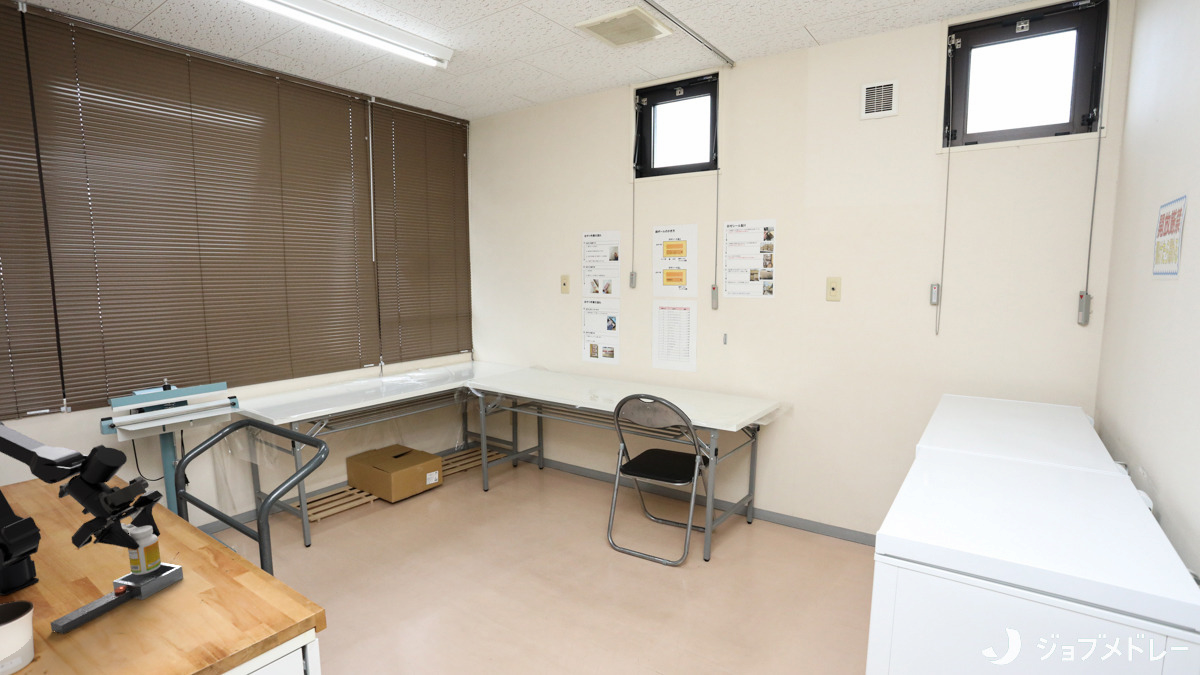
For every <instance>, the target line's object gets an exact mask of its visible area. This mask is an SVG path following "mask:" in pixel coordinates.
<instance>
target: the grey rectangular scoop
mask: <svg viewBox="0 0 1200 675" xmlns="http://www.w3.org/2000/svg"><path fill="white" fill-rule="evenodd" d="M183 579H184V573H183V566H182V565H176V564H172V563H168V562H167V563H166V562H162V561H161V565H160V567H159V568H158V569H156V570H154V571H152V572H149V573H146V574H142V575H134V574H132V572H131V571H130V572H129V573H127V574H125V575H123V576H121V577H119V578H117V579H114V580H112V584H113V585H112V586H113V591H112V592H109V593H107V594H105V595H103V596H101V597H99V598H97V599H95V600H93V601H91V602H89V603H87V604H85V605H83V606H81V607H78V608H77V609H75V610H73V611H71V612H69V613H67V614H64V615H63V616H60V617H59V618H57V619H55V620H53V621H51V622H50V627H51V632H52V631H55V632H59V633H62V634H64V633H66V632H68V631H70V630H72V629H73V630H75V629H77V628H79V627H81V626H83V625H85V624H87V623H89V622H91V621H92V620H94V619H96V618H99V617H100V616H102V615H104V614H106V613H108V612H110V611H111V610H114V609H116V608H117V607H119V606H121V605H124V604H125V603H127V602H129V601H131V600H133V599H135V600H136V599H137V600H140V601H141V600H142V601H143V600H145V599H148V598H149V597H150V596H153V595H155V594H157V593H158V592H160V591H162V590H164V589H166V588H168V587H170V586H171V584H172V585H173V584H175V583H177V582H179V581H181V580H183ZM73 630H72V631H73ZM55 632H54V633H55ZM70 632H71V631H70ZM59 633H58V634H59ZM68 633H69V632H68ZM62 634H61V635H62ZM66 634H67V633H66ZM64 635H65V634H64Z"/></svg>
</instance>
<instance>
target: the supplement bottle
mask: <svg viewBox="0 0 1200 675" xmlns="http://www.w3.org/2000/svg"><path fill="white" fill-rule="evenodd" d="M152 533H153V528H152V526H149V525H148V526H141V527H138V528H135V529H133V530H131V531H130V536H131V537H132V538H133V539H134V540H135V541H136V542H137V543H138V544H139V546H140V547H139V548H138V549H137V550H134V549H129V548H127V550H128V551H127V552H128V559H129V565H130V566H129V568H130V573H131V572H132V574H134V575H142V574H146V573H149V572H152V571H154V570H156V569H158V568H159V567H160V565H161V562H162V560H161V555H160V554H161V552H160V544H159V540H158V539H159V538H158V537H157V536H156V535H155V534H152Z"/></svg>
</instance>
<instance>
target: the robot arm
mask: <svg viewBox="0 0 1200 675" xmlns="http://www.w3.org/2000/svg"><path fill="white" fill-rule="evenodd" d="M0 453H2V454H4V455H6V456H9V457H10V458H12V459H15V460H16V461H19V462H20V463H23V464H25V465H27V466H28V467H29V469H30V470H29V471H30V473H31V475H33V476H35V477H37V478H38V479H39V480H40V481H42V482H43V483H46V484H49V485H52V484H56V483H59V482H61V481H64V480H68V479H69V478H70V479H69V480H68V482H66V483H63V484H61V485H59V491H58V498H59V499H63V498H65V497H67V496H70V497H71V498H72V499H74V500H75V501H76V502H77V503H78V504H80V506H82V507H83V509H82V510H81V513H82V514H83V515H88V514H89V513H90V515H93V517H94V518H92V519H90V520H88V521H85V522H84V523H83V524H81V526H80V527H79V528H78V529H77V530H76V531H75V532H74V534H73V535H72V536H71V543H72V544H73V545H74V546H75V547H76V549H81V548H83V547H85V546H87V545H88V544H91V543H93V545H97V544H104V545H111V546H115V547H116V546H117V547H120V548H125V549H128V548H129V549H134V550H137V549H138V548H139V547H140V546H139V544H138V543H137V542H136V541H135V540H134V539H133V538H132V537H131V536H130V535H129V534H128V533H126V532H125V531H124V530H123V529H122V526H121V523H122V522H121V521H122V520H125V519H126V518H128V517H130V518H131V520H132V519H134V520H133V521H131V522H130V523H129V524H132V525H134V526H136V527H137V528H138V527H141V526H148V525H149V526H152V528H153V533H152V534H155V535H156V536H157V538H158V537H160V536H161V532H160V529H159V528H158V526H157V525H158V524H157V522H156V521H155V518H154V515H153V508H154V507H155V506H156V505H157V504H158V502H160V501H161V499H162V498H163V497H164V495H163V494H162V493H161V492H160V491H158V490H156V489H154V490H153V489H152V490H150V491H147V490H146V489H147V488H149V486H150V485H149V482H148V481H147V480H146V479H145V478H144V477H142V476H141V475H139V476H137V477H135V478H133V479H131V480H129V482H128V485H127V486H124V487H123V488H120V486H116V485H115V486H113V487H110V486H109V485H108V484H107V483H108V482H109V481H111V480H112V479H113V478H114V476H115V475H116V474H117V473H118V472H119V471H120V470H121V469H122V467H123V466H124V465H125V464H126V463H127V460H128V459H127V455H126V454H125V453H124V451H122V450H119V449H117V448H114V447H106V446H105V445H103V444H100V445H96V446H94V447H92V449H91V450H90V452H89V454H84V453H81V452H79V451H78V450H74V449H71V448H67V447H65V446H64V447H63V446H50V445H47V444H44V443H42V442H40V441H38V440H36V439H33V438H32V437H29V436H28V435H26V434H23V433H21V432H19V431H17V430H15V429H13V428H10V427H8V426H6V425H5V424H4V422H2V421H0ZM137 497H138V498H137ZM136 498H137V499H136ZM134 501H135V502H134ZM35 522H36V521H35V520H34V518H33V517H31V516H28V517H25V518H24V517H21V516H20V515H17V514H16V513H15V511H14V510H13V508H12V506H11V505H10V503H9V502H8V500H7V498H6V496H5V495H4V492H3V491H2V489H1V488H0V596H7V595H10V594H12V593H14V592H17V591H18V590H21V589H23V588H25V587H28V586H31V585H33V584H35V583H37V582H39V581H40V579H39V578H38V577H37V576H38V575H37V570H36V564H35V560H34V559H32V556H31V555H33V554H36V553H38V551H39V546H40V540H42V536H41V531H42V530H41V529H40V528H39V527H38V526H37V524H36V523H35ZM93 536H94V538H95V539H94V540H93ZM92 541H93V542H92Z"/></svg>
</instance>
